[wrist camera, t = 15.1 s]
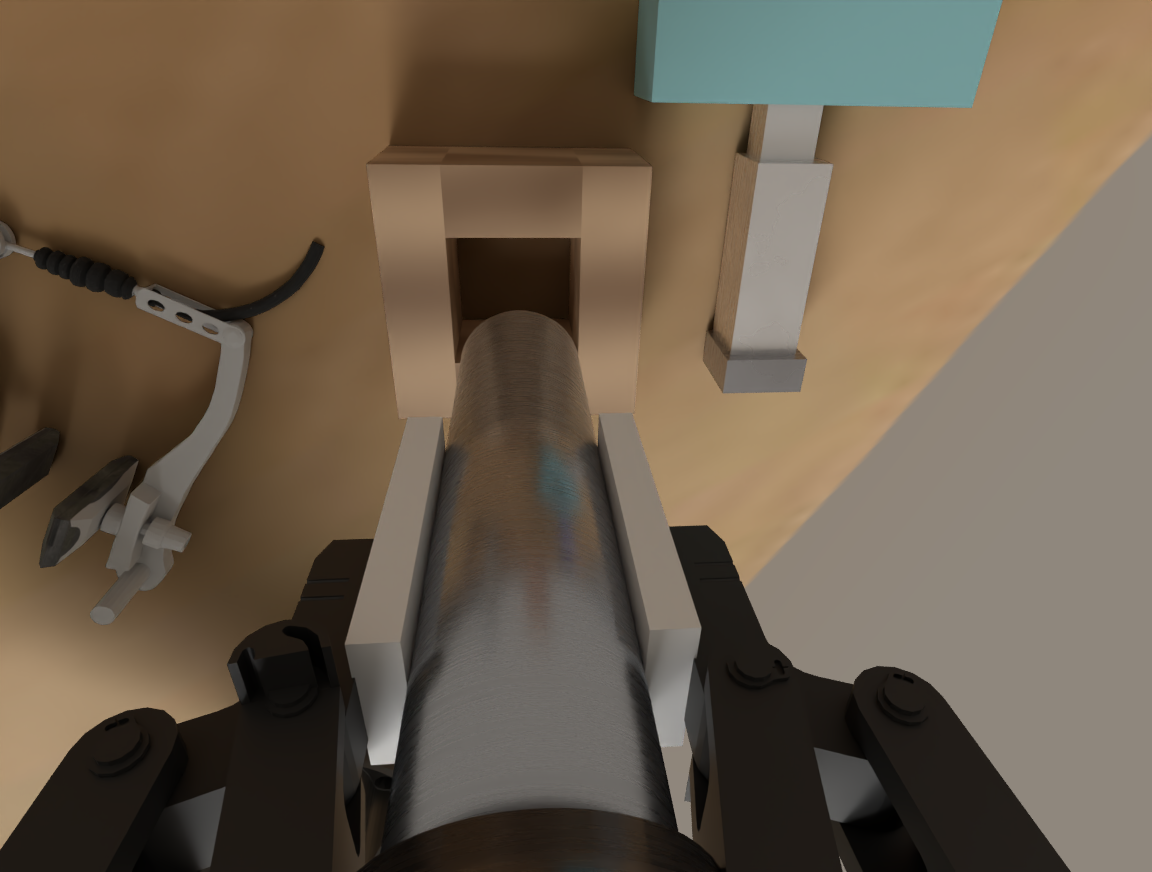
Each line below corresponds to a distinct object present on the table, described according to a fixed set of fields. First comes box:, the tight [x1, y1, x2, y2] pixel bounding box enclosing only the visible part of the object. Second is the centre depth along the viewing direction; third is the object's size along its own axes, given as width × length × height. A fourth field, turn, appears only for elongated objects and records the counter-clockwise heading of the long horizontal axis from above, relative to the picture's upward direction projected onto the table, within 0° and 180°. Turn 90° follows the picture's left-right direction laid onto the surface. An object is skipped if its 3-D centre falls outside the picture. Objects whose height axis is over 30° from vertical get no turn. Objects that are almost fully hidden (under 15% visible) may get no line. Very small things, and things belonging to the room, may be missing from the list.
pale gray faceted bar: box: [703, 104, 833, 393], centre depth 28 cm, size 14×4×4 cm, turn 179°
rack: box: [366, 146, 653, 419], centre depth 28 cm, size 10×10×5 cm
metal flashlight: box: [357, 310, 721, 872], centre depth 13 cm, size 4×4×17 cm
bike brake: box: [0, 221, 324, 625], centre depth 29 cm, size 14×7×20 cm
